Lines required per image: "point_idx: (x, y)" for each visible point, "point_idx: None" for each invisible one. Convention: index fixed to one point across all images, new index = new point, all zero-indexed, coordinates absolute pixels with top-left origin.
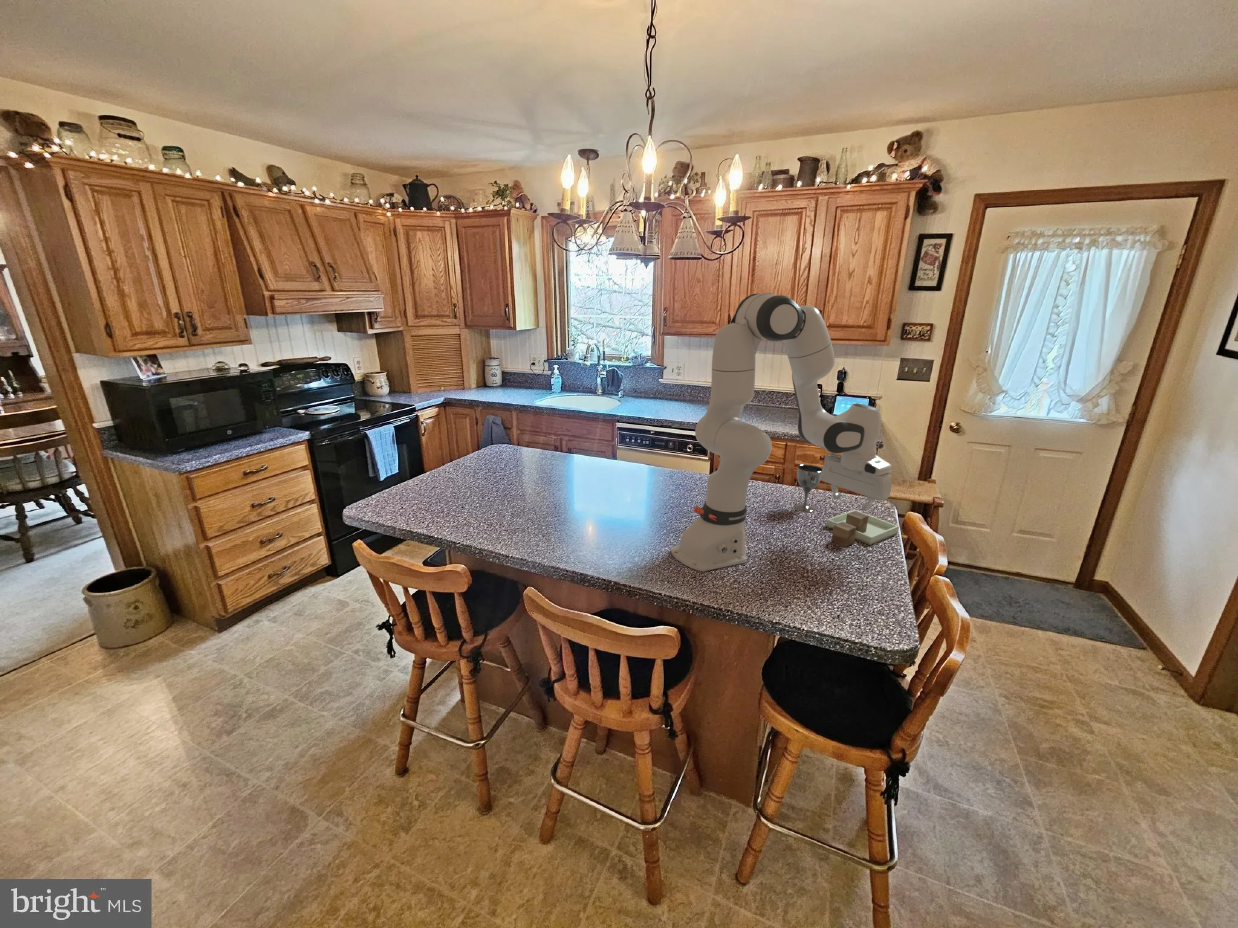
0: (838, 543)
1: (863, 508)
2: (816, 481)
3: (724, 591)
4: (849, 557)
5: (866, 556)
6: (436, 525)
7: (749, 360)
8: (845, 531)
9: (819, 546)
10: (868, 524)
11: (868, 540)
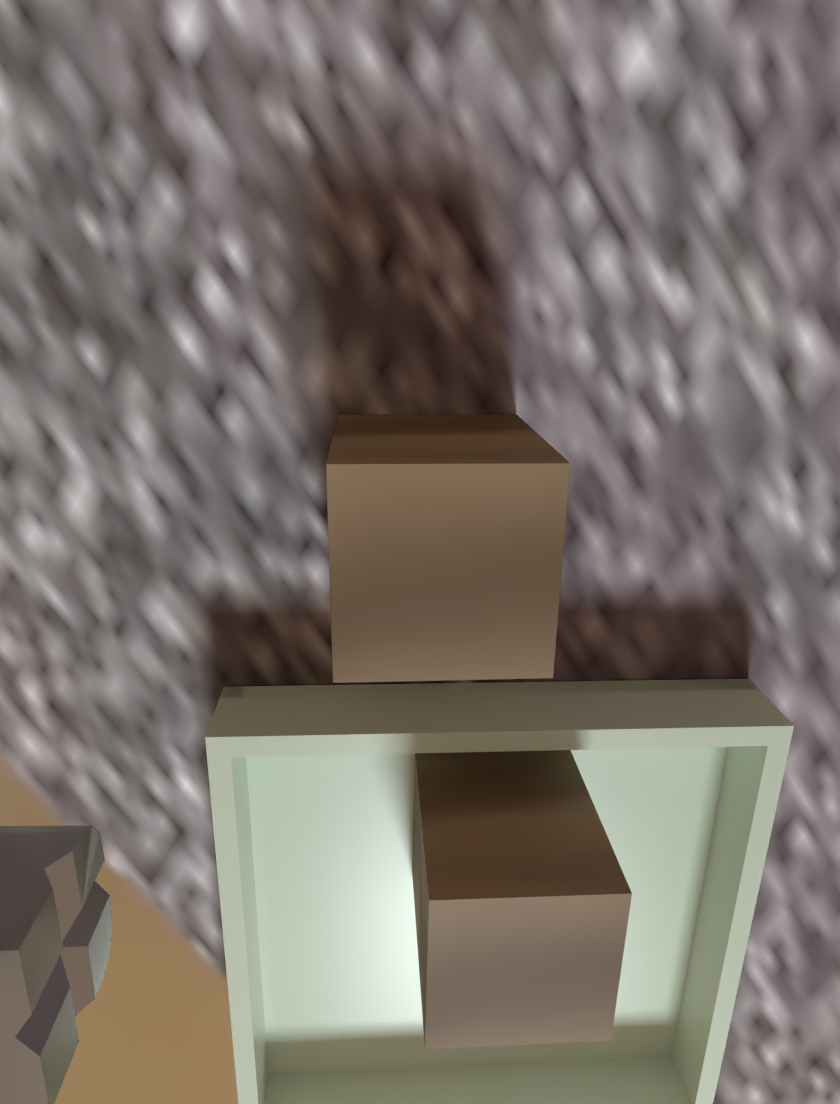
0: (423, 417)
1: (13, 840)
2: None
3: None
4: (129, 207)
5: (57, 419)
6: None
7: None
8: (359, 456)
9: (519, 137)
10: None
11: (240, 709)
